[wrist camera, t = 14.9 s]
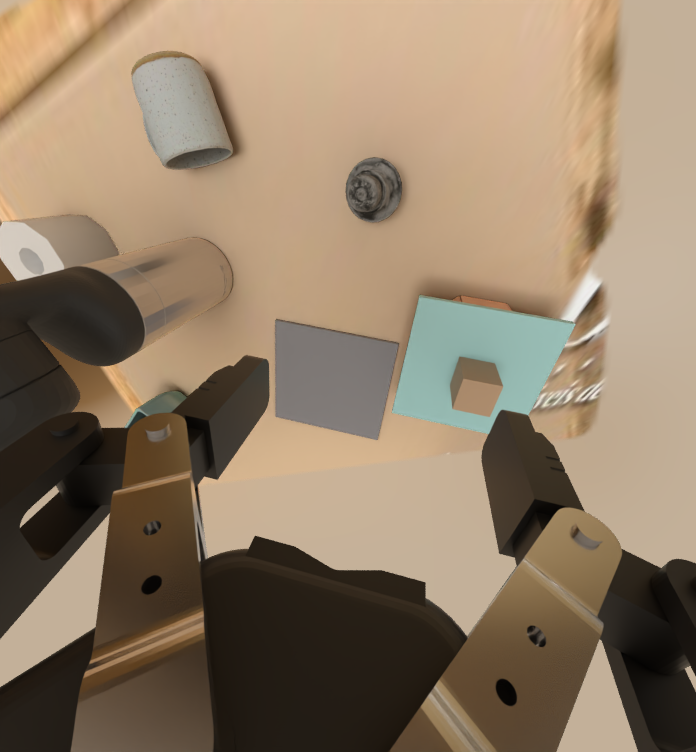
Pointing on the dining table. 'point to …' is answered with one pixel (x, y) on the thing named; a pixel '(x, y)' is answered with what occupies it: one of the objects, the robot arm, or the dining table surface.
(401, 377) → the lid
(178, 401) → the flower pot
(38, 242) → the toilet tissue
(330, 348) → the mat
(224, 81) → the dining table surface
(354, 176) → the dark grey chess piece
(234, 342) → the dining table surface
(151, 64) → the ceramic mug
